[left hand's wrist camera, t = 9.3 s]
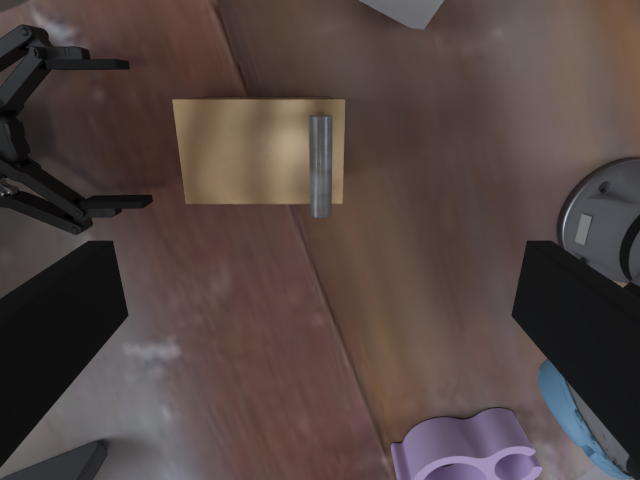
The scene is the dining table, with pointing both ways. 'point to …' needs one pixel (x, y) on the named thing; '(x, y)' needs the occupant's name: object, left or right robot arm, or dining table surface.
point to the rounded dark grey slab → (67, 465)
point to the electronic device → (407, 10)
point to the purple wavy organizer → (467, 449)
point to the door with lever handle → (262, 151)
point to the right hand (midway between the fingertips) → (136, 137)
